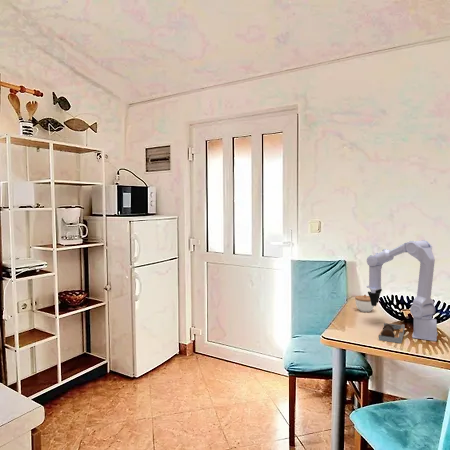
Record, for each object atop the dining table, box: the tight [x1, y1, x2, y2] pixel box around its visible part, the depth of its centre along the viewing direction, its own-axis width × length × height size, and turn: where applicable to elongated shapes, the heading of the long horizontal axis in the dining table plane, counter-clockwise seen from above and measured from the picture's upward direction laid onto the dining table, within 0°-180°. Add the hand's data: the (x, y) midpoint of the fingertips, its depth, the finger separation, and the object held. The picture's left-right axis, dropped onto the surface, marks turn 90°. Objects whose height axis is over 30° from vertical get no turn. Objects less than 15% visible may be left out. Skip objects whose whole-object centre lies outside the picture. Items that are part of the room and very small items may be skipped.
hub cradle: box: [378, 322, 405, 344], centre depth 168 cm, size 9×21×3 cm, turn 150°
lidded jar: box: [355, 294, 375, 313], centre depth 209 cm, size 11×11×9 cm
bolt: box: [380, 323, 396, 337], centre depth 167 cm, size 6×5×15 cm
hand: (374, 304), depth 187 cm, fingers open, 7 cm apart
